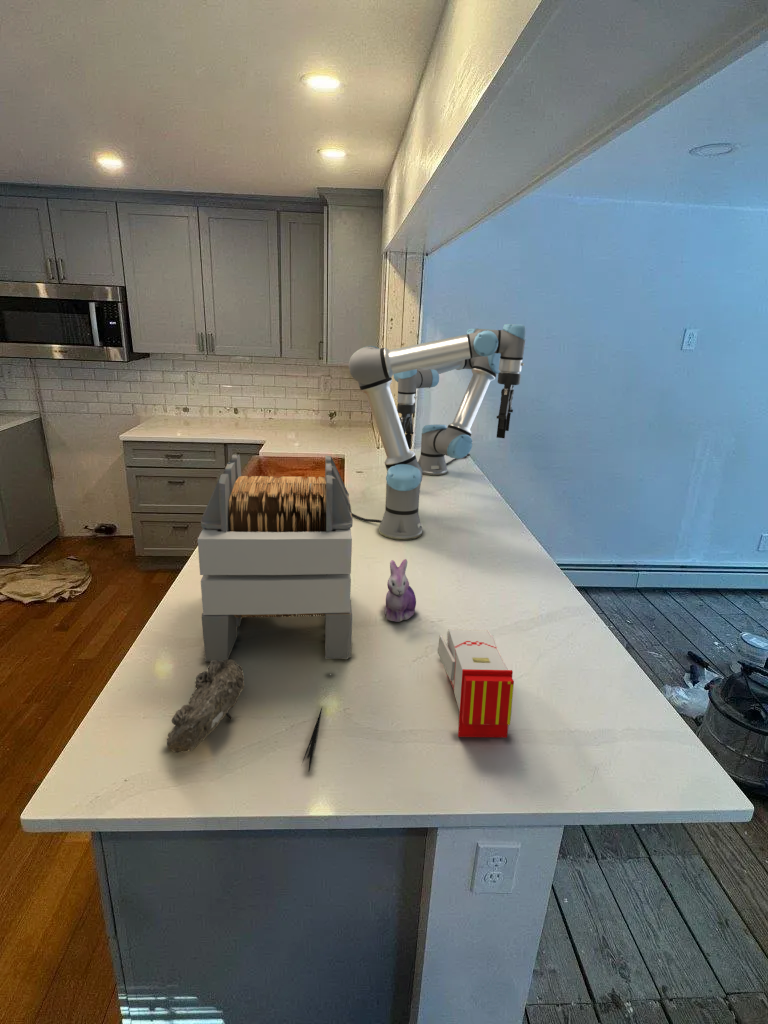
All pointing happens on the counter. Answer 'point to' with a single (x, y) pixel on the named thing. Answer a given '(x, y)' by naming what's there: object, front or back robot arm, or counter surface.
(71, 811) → the counter surface
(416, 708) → the counter surface
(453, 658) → the toy
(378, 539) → the counter surface
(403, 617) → the figurine
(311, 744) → the feather
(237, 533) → the record storage crate
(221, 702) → the fossil
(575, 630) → the counter surface
